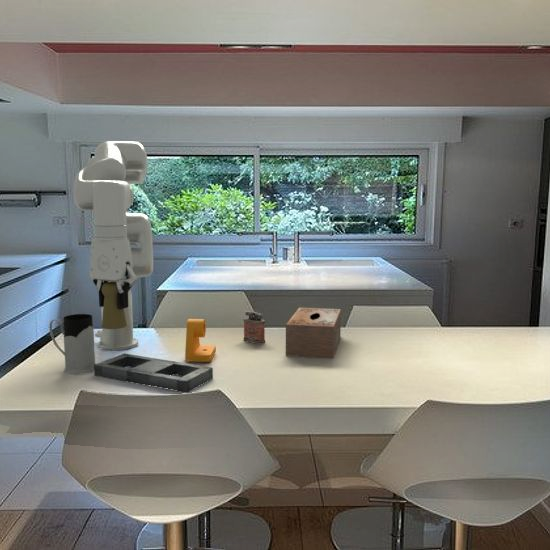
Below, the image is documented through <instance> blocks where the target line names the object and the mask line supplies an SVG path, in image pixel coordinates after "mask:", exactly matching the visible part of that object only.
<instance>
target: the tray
mask: <svg viewBox="0 0 550 550" xmlns="http://www.w3.org/2000/svg"><path fill="white" fill-rule="evenodd" d="M129 366H130V367H129ZM125 367H126V368H125ZM93 373H94V374H93V376H94V377H95V376H96V377H101V378H106V379H111V380H117V381H121V382H126V381H128V382H127V383H131V382H133V383H132V384H136V383H138V384H137V385H142V384H145V385H144V386H147V385H151V386H150V387H152V386H157V387H162V388H161V389H163V388H168V389H173V390H177V391H176V392H179V391H181V392H180V393H184V392H187V393H189V392H191V391H193V390H195V389H197V388H198V387H200V386H202V385H204V384H206V383H207V381H208V382H210V381H211V380H213V379H214V368H213V367H211V366H204V365H199V364H192V363H187V362H186V363H185V362H180V361H173V360H168V359H161V358H156V357H150V356H149V357H148V356H143V355H142V356H141V355H135V354H130V353H122V354H118V355H117V356H114V357H111V358H109V359H105V360H102V361H101V362H98V363H95V365H94V371H93ZM173 374H174V375H173ZM175 374H178V375H177V376H175ZM170 375H172V376H170ZM180 375H183V376H180ZM205 382H206V383H205ZM203 383H204V384H203ZM201 384H202V385H201ZM199 385H200V386H199ZM157 387H156V388H157ZM196 387H197V388H196ZM194 388H195V389H194ZM168 389H167V390H168ZM173 390H172V391H173Z"/></svg>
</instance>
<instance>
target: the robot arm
mask: <svg viewBox="0 0 550 550" xmlns="http://www.w3.org/2000/svg"><path fill="white" fill-rule="evenodd" d="M147 172H148V155H147V152H146V149H145V147H144V145H143V144H141V143H140V142H139V141H118V140H114V141H113V140H112V141H111V140H109V141H104V142H101V143H99V144H98V145H97V146H96V148H95V150H94V156H93V157H91V158H89V160H88V161H87V165H86V166H85V167H82V168H81V169H80V170H79V171H78V172H77V173H76V175H75V178H74V182H73V183H74V184H73V202H74V204H75V206H76V208H78V209H79V210H81V211H85V212H87V211H88V212H90V211H91V212H92V213H93V229H92V232H93V233H94V238H92V240H91V244H90V245H91V246H90V252H89V253H90V256H89V273H88V277H89V278H90V280H91V281H92V282H93V284H94V285H95V288H96V289H95V290H96V291H98V304H99V305H98V307H99V308H100V309H101V310H100V312H101V319H102V318H103V307H104V295H103V293H102V286H103V284H104V283H107V282H116V283H117V287H118V291H119V293H117V308H118V309H124V310H125V316H126V322H127V326H126V327H124V328H120V329H104V328H102V327H101V329H99V330H97V331H96V333H94V338H95V337H96V338H99V341H98V342H97V348H98V349H100V350H105V351H122V350H128V349H132V348H135V347H137V346H138V344H139V340H138V338H134V327H133V325H134V323H133V296H132V295H133V293H132V289H131V288H132V287H134V284H136V283H137V282H138V280H139V279H138V278H144V277H149V276H151V275H152V274H153V271H154V249H153V231H152V222H151V220H150V217H149V216H148V215H147V214H145V213H128V209H130V207H132V205H133V203H134V198H135V197H134V189H133V188H132V186H131V185H136V184H137V185H138V184H139V185H140V184H142V183H144V182H145V180H146V178H147V174H148V173H147ZM131 244H136V245H137V246H138V247H131ZM122 284H123V285H122Z"/></svg>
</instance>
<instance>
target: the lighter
mask: <svg viewBox="0 0 550 550" xmlns="http://www.w3.org/2000/svg"><path fill="white" fill-rule="evenodd" d="M244 315H245V316H248V317H244V318H243V319H242V320H243V342H246V341H248V342H247V343H251V342H254V343H253V344H258V343H263V344H265V343H266V339H265V336H266V335H265V333H266V332H265V326H266V325H265V324H266V319H263V318H262V317H263V316H262V313H259V312H258V311H254V312H253V311H248V310H247V311H245V314H244Z"/></svg>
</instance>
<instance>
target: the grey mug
mask: <svg viewBox="0 0 550 550" xmlns="http://www.w3.org/2000/svg"><path fill="white" fill-rule="evenodd" d="M62 319H63V321H62V320H60V319H57V318H54V319H52V320H50V323H49V334H50V337H51V340H52V342H53V344H54V346H55V347H56V348H57V349H58V350H59V352H61V354H62V355H63V356H64V365H65V367H64V369H63V373H65V374H66V375H75V376H77V375H85V374H90V373H94V365H95V364H96V355H95V333H94V332H95V331H94V325H93V315H92V314H88V313H77V314H76V313H75V314H69V315H65V316H63V318H62ZM54 321H55V322H57V323H58V324H59V326H60V329H61V330H60V331H61V334H62V335H63V346H64V347H63V348H64V350H63V349H62V348H61V347H60V346H59V344H58V343H57V341H56V338H55V336H54V333H53V322H54Z"/></svg>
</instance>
